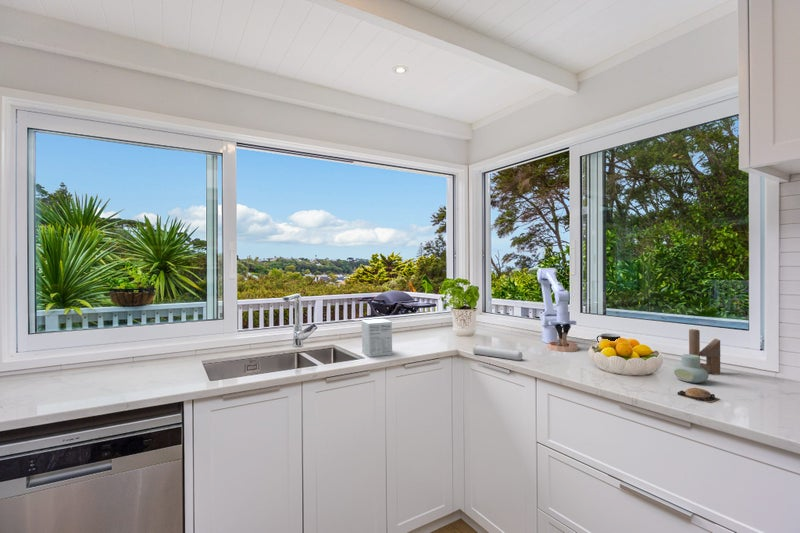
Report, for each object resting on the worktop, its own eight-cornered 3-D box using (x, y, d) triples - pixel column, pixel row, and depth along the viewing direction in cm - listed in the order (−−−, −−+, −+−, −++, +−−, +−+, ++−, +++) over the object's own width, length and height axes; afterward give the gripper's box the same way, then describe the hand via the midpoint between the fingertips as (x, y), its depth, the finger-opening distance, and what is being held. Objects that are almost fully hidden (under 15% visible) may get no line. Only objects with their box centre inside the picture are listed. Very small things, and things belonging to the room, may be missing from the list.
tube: (524, 351, 192) (478, 345, 208) (520, 350, 188) (473, 343, 204) (523, 362, 191) (476, 355, 206) (519, 361, 187) (472, 353, 202)
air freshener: (669, 378, 158) (669, 353, 158) (683, 376, 161) (683, 351, 161) (698, 386, 148) (698, 359, 147) (713, 383, 151) (712, 357, 150)
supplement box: (393, 354, 206) (392, 321, 206) (368, 357, 201) (368, 323, 201) (384, 349, 218) (384, 318, 218) (361, 352, 213) (361, 320, 213)
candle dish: (543, 346, 221) (543, 340, 221) (569, 345, 222) (569, 340, 222) (555, 352, 206) (555, 346, 206) (583, 351, 207) (583, 345, 207)
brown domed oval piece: (721, 401, 134) (722, 390, 134) (709, 405, 130) (709, 394, 130) (687, 392, 143) (687, 382, 143) (674, 395, 139) (674, 385, 139)
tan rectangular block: (558, 344, 216) (558, 332, 216) (562, 344, 216) (562, 331, 216) (563, 346, 211) (562, 333, 211) (566, 346, 211) (566, 333, 211)
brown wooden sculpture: (720, 374, 162) (720, 330, 162) (691, 373, 164) (691, 330, 164) (715, 371, 166) (715, 329, 166) (687, 371, 168) (686, 329, 168)
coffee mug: (624, 356, 194) (623, 336, 194) (606, 356, 194) (606, 336, 194) (611, 351, 206) (611, 332, 205) (595, 351, 206) (595, 332, 206)
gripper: (552, 314, 209) (553, 339, 209) (579, 313, 210) (579, 339, 210) (546, 312, 216) (547, 337, 216) (572, 312, 217) (572, 336, 217)
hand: (562, 338), depth 214 cm, fingers closed on tan rectangular block, 2 cm apart
